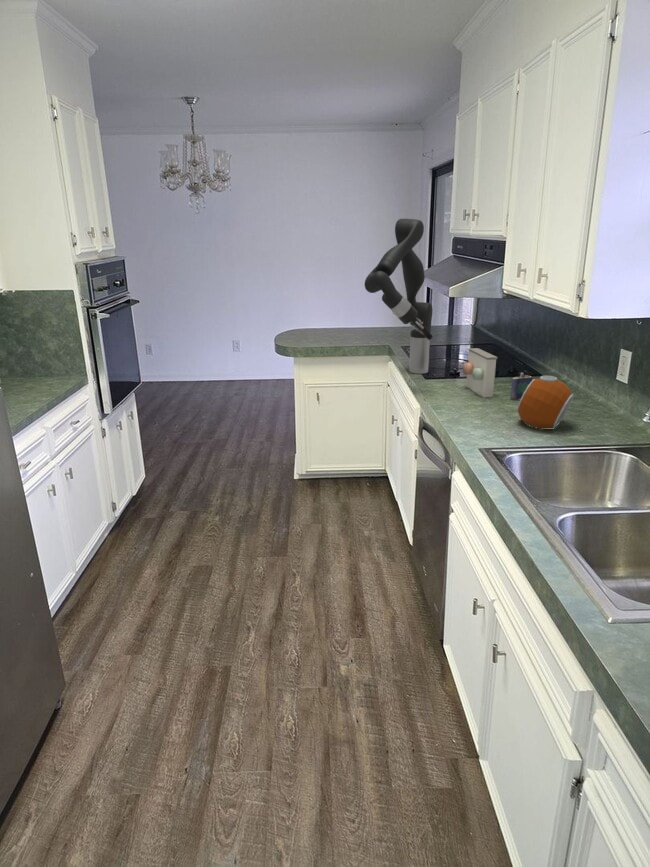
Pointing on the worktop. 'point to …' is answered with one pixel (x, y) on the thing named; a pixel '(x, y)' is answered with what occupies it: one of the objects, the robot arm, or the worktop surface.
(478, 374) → the sage button
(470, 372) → the terracotta button
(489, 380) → the panel
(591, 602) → the worktop surface
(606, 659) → the worktop surface
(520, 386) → the flask
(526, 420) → the alarm clock
